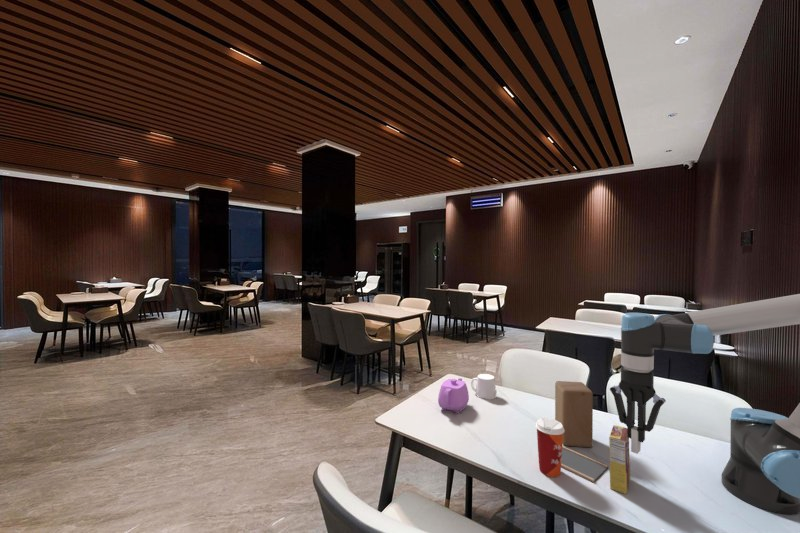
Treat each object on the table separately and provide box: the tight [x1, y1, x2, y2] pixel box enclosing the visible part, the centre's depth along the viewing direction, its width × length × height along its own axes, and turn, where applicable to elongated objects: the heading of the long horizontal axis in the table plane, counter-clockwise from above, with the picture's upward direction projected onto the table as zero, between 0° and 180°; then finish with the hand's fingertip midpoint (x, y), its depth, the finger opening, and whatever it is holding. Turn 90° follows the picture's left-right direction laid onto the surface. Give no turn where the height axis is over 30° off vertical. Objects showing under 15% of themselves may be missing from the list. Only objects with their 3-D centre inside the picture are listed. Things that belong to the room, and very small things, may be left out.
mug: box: [470, 373, 498, 400], centre depth 161 cm, size 12×9×8 cm
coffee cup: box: [535, 417, 565, 478], centre depth 104 cm, size 8×8×15 cm
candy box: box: [608, 424, 631, 495], centre depth 97 cm, size 9×4×15 cm, turn 140°
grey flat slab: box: [561, 445, 609, 483], centre depth 108 cm, size 16×11×1 cm
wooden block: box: [554, 380, 594, 448], centre depth 121 cm, size 10×10×20 cm
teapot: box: [437, 377, 470, 414], centre depth 148 cm, size 20×12×13 cm, turn 151°
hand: (635, 450), depth 94 cm, fingers closed
